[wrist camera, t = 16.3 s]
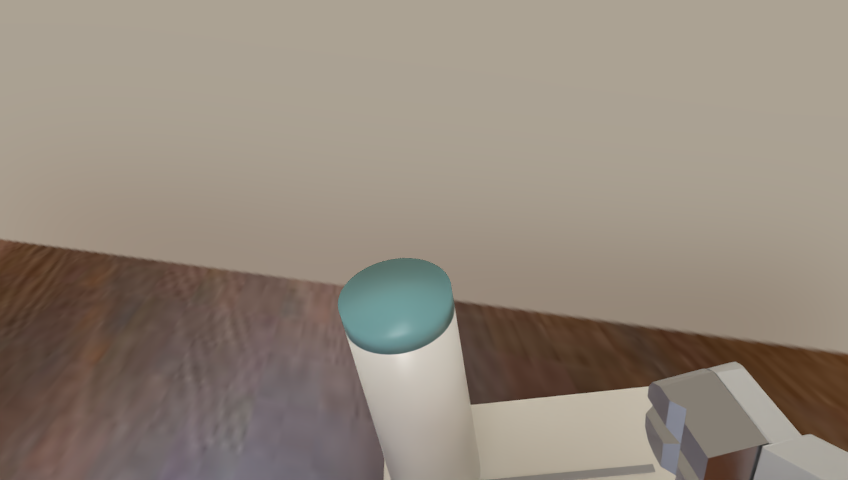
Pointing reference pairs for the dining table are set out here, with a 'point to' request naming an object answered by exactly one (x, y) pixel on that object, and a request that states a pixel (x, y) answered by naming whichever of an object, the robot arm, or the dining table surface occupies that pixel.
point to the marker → (412, 368)
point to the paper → (566, 438)
